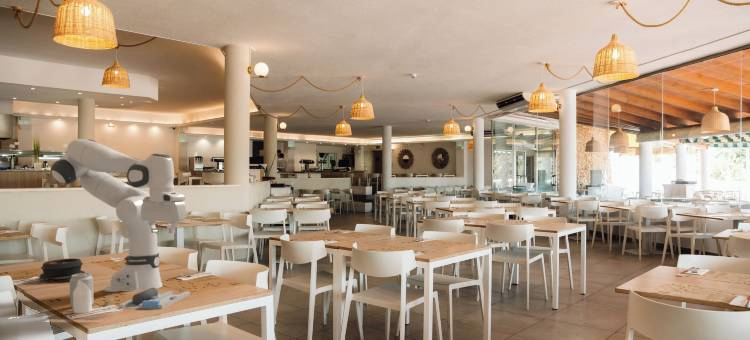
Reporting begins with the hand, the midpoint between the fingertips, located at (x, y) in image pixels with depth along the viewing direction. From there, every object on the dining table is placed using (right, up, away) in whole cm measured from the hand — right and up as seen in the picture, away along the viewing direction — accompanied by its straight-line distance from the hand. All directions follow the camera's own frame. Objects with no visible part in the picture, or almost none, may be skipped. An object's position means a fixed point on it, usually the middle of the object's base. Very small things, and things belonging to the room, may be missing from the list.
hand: (163, 233), depth 195 cm
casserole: (-67, -28, +48) cm, 87 cm away
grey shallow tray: (0, -25, -5) cm, 26 cm away
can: (-27, -26, -7) cm, 38 cm away
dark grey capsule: (-4, -25, -6) cm, 26 cm away
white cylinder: (-21, -26, -17) cm, 38 cm away
